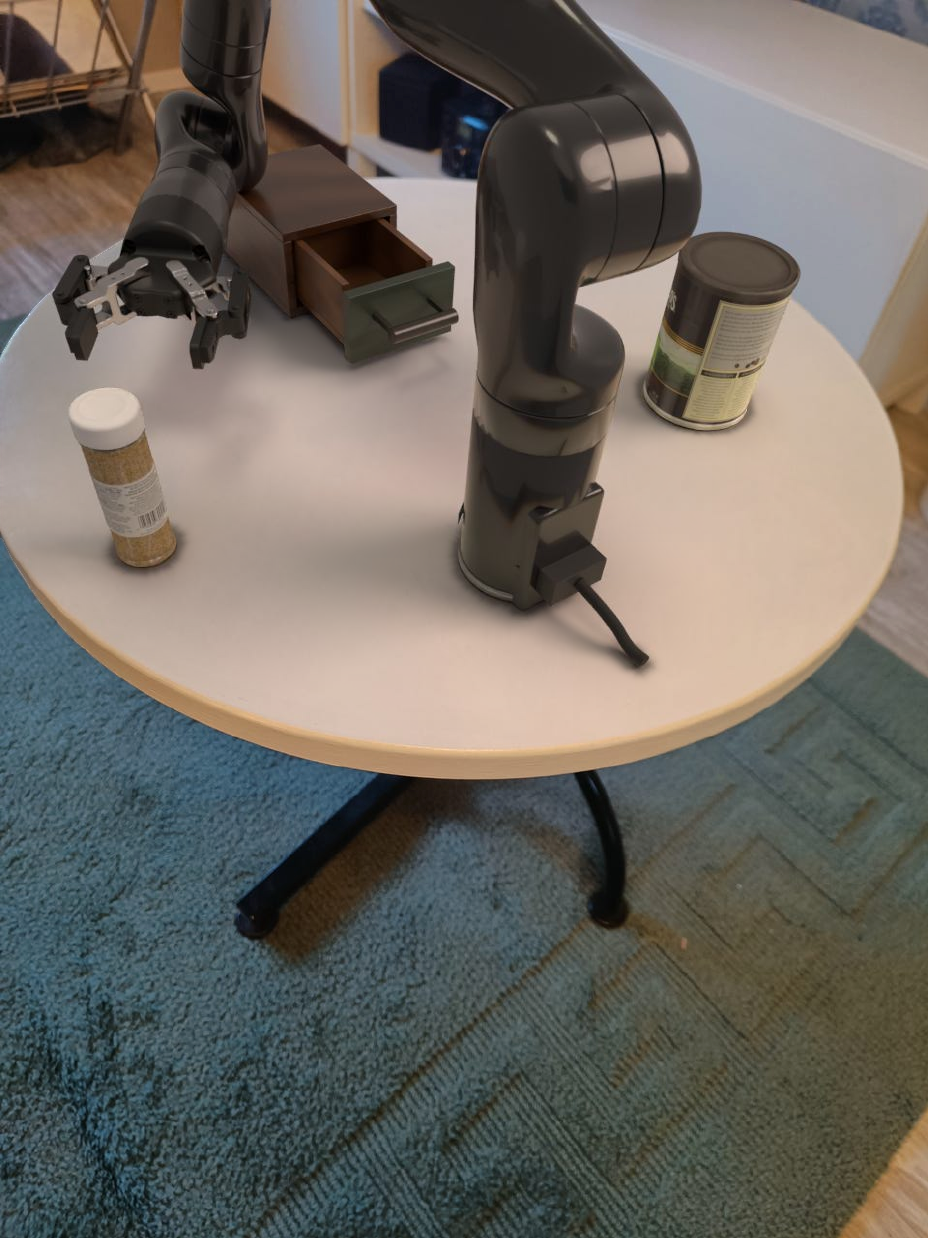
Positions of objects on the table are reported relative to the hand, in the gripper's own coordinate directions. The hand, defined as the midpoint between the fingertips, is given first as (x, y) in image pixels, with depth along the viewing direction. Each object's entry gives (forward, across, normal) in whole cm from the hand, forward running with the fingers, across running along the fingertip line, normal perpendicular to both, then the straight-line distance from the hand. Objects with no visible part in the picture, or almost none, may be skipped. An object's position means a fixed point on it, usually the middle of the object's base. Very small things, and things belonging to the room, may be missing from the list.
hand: (137, 355), depth 64 cm
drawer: (-22, +16, +11) cm, 30 cm away
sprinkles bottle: (+10, +1, +11) cm, 14 cm away
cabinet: (-33, +8, +13) cm, 37 cm away
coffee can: (-13, +48, +11) cm, 51 cm away
